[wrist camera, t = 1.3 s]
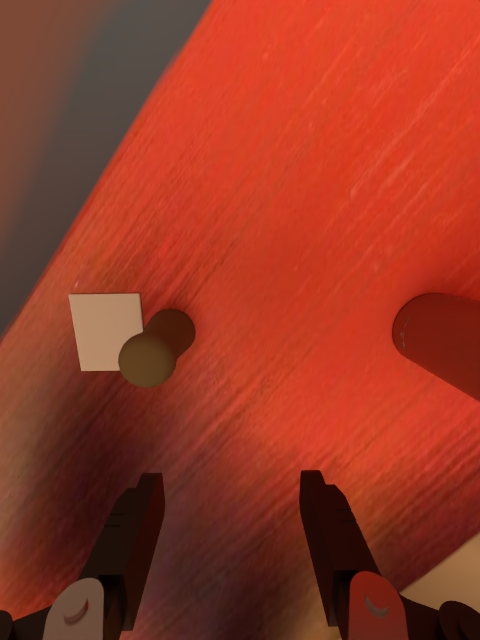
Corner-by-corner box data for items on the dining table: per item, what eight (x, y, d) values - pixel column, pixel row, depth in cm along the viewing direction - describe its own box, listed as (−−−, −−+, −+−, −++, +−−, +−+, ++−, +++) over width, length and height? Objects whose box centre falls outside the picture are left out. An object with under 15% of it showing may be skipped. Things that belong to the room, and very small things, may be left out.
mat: (140, 293, 32) (138, 293, 32) (147, 368, 35) (146, 369, 34) (70, 294, 32) (68, 294, 32) (83, 369, 35) (81, 370, 34)
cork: (177, 362, 35) (151, 410, 24) (138, 335, 34) (93, 373, 23) (204, 327, 34) (190, 361, 23) (165, 298, 33) (131, 320, 22)
